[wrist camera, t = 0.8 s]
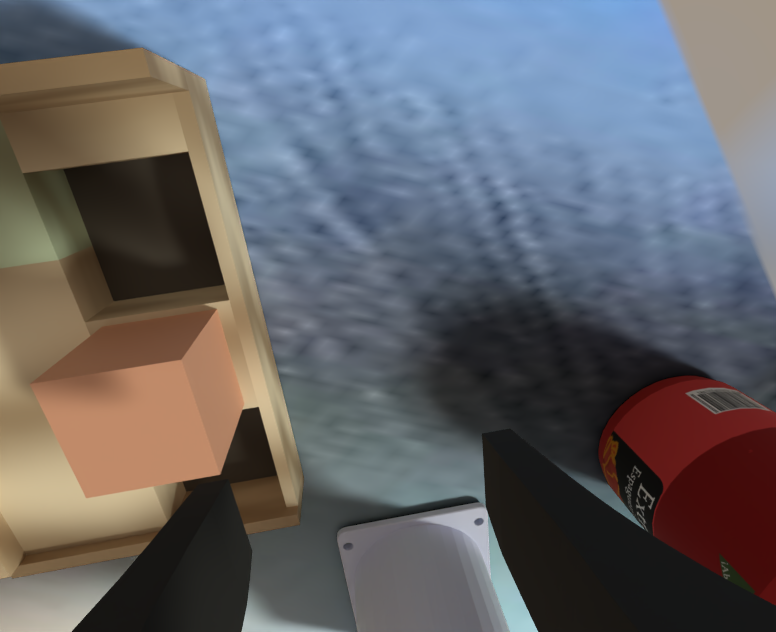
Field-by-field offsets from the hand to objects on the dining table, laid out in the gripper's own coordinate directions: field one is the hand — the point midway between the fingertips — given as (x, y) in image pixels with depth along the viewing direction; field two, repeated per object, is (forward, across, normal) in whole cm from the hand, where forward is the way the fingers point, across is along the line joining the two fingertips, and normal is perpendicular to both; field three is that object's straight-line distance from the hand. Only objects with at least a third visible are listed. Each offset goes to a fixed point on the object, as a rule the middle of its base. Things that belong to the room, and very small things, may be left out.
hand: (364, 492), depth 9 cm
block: (+8, +6, 0) cm, 10 cm away
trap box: (+10, +10, -1) cm, 14 cm away
